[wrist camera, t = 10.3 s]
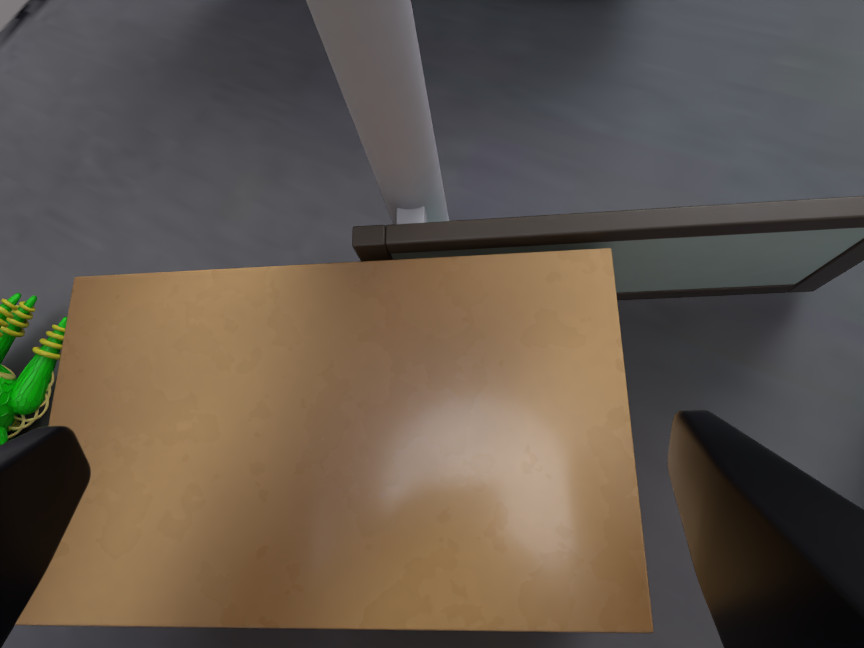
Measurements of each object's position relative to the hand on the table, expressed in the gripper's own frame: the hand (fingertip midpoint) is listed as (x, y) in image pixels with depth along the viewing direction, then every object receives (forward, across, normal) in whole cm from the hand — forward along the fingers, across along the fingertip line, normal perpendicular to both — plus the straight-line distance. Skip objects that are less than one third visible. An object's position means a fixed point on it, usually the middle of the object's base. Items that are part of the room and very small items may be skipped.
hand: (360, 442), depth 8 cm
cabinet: (+9, +2, +8) cm, 12 cm away
